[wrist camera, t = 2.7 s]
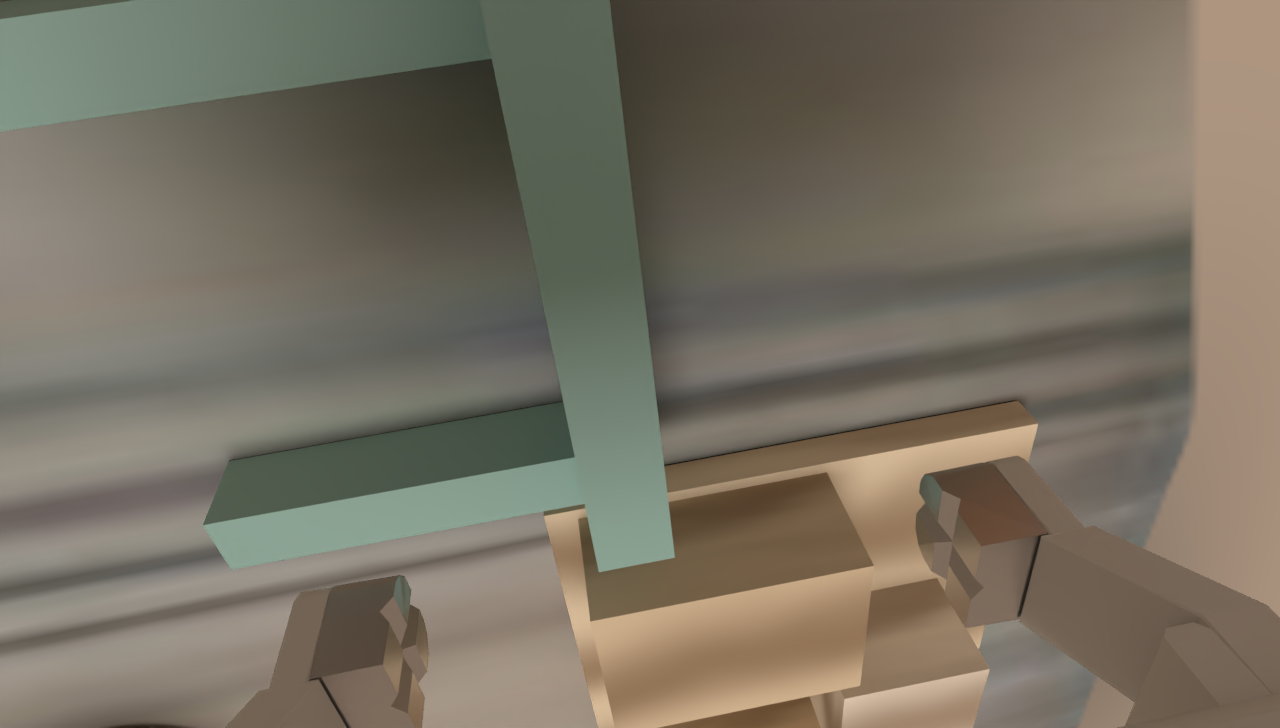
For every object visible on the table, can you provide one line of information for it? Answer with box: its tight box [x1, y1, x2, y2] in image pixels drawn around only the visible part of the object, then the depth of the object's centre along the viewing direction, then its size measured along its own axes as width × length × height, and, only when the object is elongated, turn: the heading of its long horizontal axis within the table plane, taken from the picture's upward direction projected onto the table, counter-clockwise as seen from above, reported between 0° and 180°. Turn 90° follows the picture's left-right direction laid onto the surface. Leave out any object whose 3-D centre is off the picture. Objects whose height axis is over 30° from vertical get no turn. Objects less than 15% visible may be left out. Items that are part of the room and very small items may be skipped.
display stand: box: [544, 401, 1038, 728], centre depth 29 cm, size 19×16×5 cm
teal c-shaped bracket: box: [0, 0, 675, 572], centre depth 18 cm, size 14×12×5 cm
